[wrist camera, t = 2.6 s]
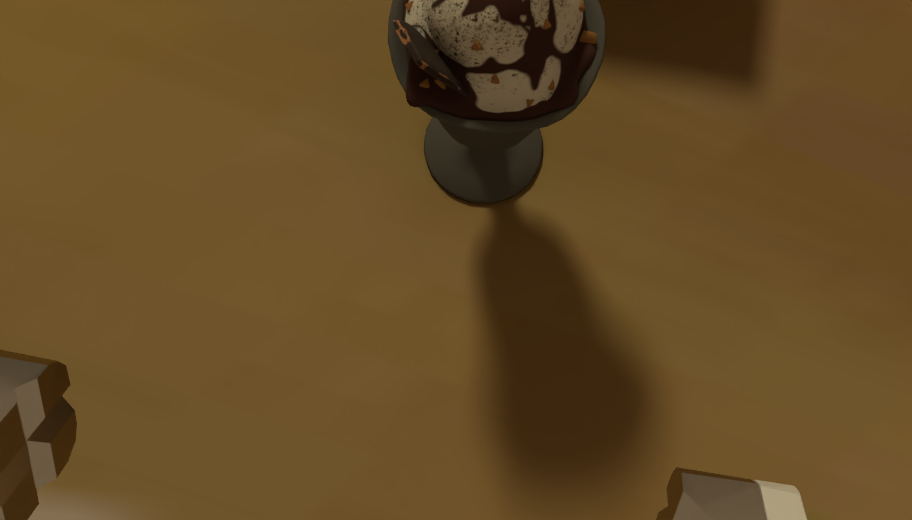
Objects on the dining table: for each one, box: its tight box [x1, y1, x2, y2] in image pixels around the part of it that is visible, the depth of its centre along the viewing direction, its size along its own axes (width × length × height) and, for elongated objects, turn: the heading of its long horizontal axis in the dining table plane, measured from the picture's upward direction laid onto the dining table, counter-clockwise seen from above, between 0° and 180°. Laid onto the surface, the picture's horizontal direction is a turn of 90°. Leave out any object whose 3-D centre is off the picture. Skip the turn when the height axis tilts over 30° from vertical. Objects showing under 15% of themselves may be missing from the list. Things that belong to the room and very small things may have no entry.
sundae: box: [388, 0, 606, 203], centre depth 29 cm, size 7×7×15 cm
